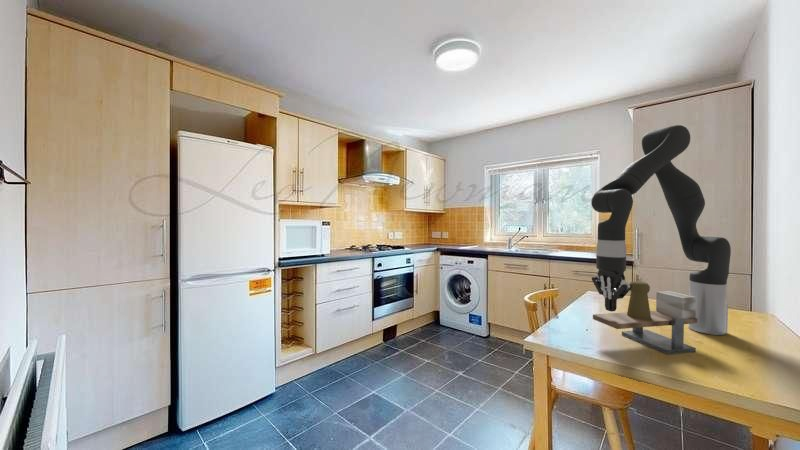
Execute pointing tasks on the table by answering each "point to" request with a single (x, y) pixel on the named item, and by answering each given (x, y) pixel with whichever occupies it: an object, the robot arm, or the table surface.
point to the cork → (639, 301)
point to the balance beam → (656, 312)
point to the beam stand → (663, 338)
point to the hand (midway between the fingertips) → (610, 310)
